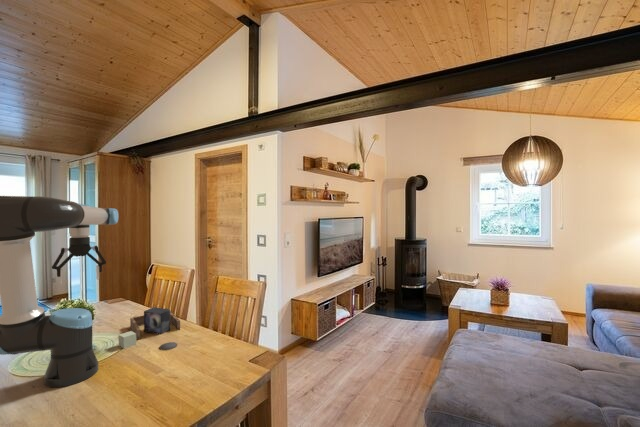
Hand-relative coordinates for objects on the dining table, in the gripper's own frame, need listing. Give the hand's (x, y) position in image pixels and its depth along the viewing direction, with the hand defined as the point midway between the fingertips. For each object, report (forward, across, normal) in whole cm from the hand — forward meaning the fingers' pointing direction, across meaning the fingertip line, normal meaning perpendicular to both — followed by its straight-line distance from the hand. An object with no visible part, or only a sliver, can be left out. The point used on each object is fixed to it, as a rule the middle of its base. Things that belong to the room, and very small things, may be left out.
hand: (80, 281), depth 144 cm
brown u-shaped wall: (+26, -28, +15) cm, 41 cm away
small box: (+26, -28, +20) cm, 43 cm away
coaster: (+26, -27, +42) cm, 56 cm away
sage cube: (+26, -14, +28) cm, 41 cm away
